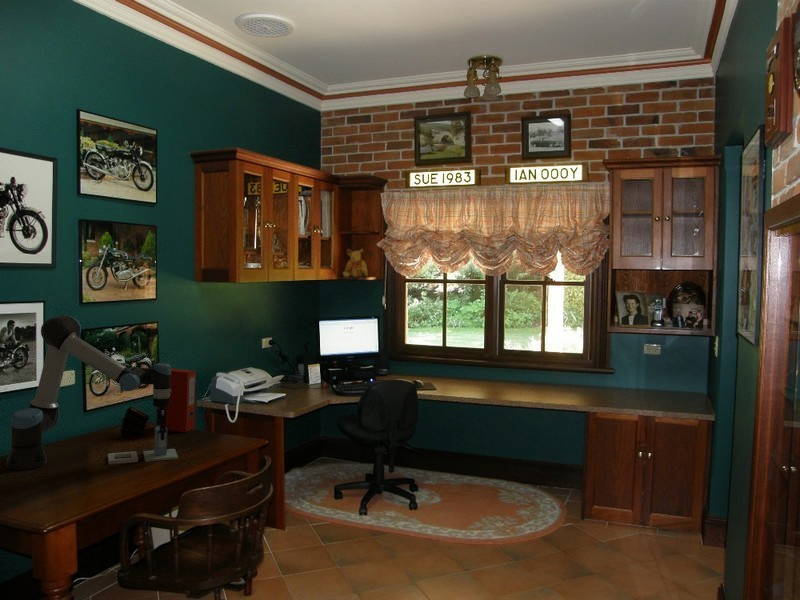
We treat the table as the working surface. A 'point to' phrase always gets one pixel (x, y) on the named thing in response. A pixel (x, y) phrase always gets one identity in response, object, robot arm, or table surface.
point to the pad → (151, 456)
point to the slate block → (158, 450)
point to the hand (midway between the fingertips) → (160, 442)
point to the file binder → (181, 401)
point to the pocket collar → (122, 460)
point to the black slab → (134, 423)
